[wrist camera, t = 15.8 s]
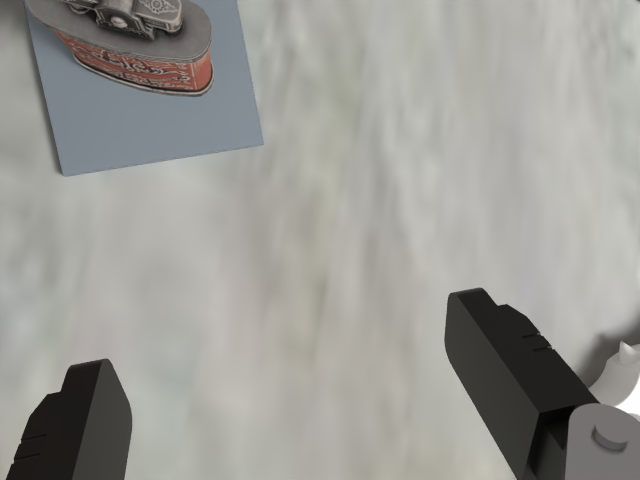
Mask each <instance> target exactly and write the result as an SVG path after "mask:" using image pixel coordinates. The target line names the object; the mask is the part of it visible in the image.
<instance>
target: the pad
mask: <svg viewBox="0 0 640 480" xmlns="http://www.w3.org/2000/svg"><path fill="white" fill-rule="evenodd" d="M189 1H191V2H193V3H195V4H197V5H198V6H200V7H201V8H202V9H204V11H205V12H206V14H207V16H208V17H209V20H210V24H211V27H212V42H211V45H210V48H209V50H210V59H211V61H212V63H213V67H214V82H213V85H212V88H211V89H210V90H209V91H208V93H206V94H205V95H203V96H201V97H195V98H194V97H178V96H166V95H161V94H155V93H149V92H144V91H140V90H136V89H133V88H130V87H127V86H124V85H121V84H118V83H114V82H112V81H110V80H107V79H105V78H103V77H101V76H99V75H96V74H94V73H92V72H90V71H87V70H86V69H85V68H83V67H82V66H81V65H80V64H79V63H78V62H77V61H76V59H75V58H74V56H73V54H72V51H71V49H70V48H69V47H68V46H67V45H66V44H65V43H64V42H63V41H62V40H61V39H60V38H59V36H58V35H57V34H56V33H55V32H54V31H53V30H52V29H50V28H48V27H46V26H44V25H43V24H42V23H40V22H39V21H38V20H37V19H36V18H35V17H34V16H33V15H32V13H31V12H30V11H29V9H28V8H27V6H26V4H25V0H23V3H24V7H25V11H26V16H27V20H28V24H29V29H30V33H31V38H32V42H33V46H34V51H35V55H36V59H37V64H38V68H39V72H40V77H41V81H42V86H43V90H44V94H45V99H46V103H47V107H48V112H49V116H50V120H51V125H52V129H53V134H54V138H55V142H56V147H57V151H58V155H59V160H60V164H61V168H62V173H63V176H73V175H79V174H85V173H91V172H98V171H104V170H110V169H116V168H123V167H129V166H135V165H142V164H148V163H154V162H160V161H167V160H173V159H179V158H185V157H192V156H198V155H204V154H210V153H217V152H223V151H229V150H236V149H242V148H248V147H254V146H261V145H264V142H263V137H262V131H261V126H260V121H259V116H258V110H257V105H256V100H255V95H254V90H253V84H252V79H251V74H250V69H249V63H248V58H247V53H246V48H245V42H244V37H243V32H242V27H241V21H240V16H239V11H238V6H237V0H189Z"/></svg>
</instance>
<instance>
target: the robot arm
mask: <svg viewBox="0 0 640 480" xmlns="http://www.w3.org/2000/svg"><path fill="white" fill-rule="evenodd" d="M445 348H446V352H447V356H448V359H449V361H450V363H451V365H452V367H453V369H454V370H455V372H456V374H457V376H458V377H459V379H460V381H461V383H462V384H463V386H464V388H465V389H466V391H467V393H468V395H469V396H470V398H471V400H472V402H473V403H474V405H475V407H476V409H477V410H478V412H479V414H480V416H481V417H482V419H483V421H484V423H485V424H486V426H487V428H488V430H489V431H490V433H491V435H492V437H493V438H494V440H495V442H496V444H497V445H498V447H499V449H500V451H501V452H502V454H503V456H504V458H505V459H506V461H507V463H508V465H509V466H510V468H511V470H512V472H513V473H514V475H515V477H516V478H517V480H640V422H639V421H638V420H637V419H636V418H634V417H633V416H632V415H630V414H628V413H627V412H625V411H623V410H621V409H618V408H616V407H613V406H610V405H605V404H601V403H600V402H599V401H598V400H597V399H596V398H595V397H594V395H593V394H592V393H591V392H590V391H589V390H588V388H587V387H586V386H585V385H584V384H583V382H582V381H581V380H580V379H579V378H578V377H577V375H576V374H575V373H574V372H573V371H572V370H571V368H570V367H569V366H568V365H567V364H566V362H565V361H564V360H563V359H562V358H561V357H560V355H559V354H558V353H557V352H556V351H555V349H552V347H551V345H550V344H549V342H548V341H547V340H546V339H545V338H544V336H541V335H540V332H539V331H538V329H537V328H536V327H535V326H534V325H533V323H532V322H531V321H530V320H529V319H528V318H527V316H525V315H523V314H522V313H520V312H519V311H517V310H515V309H514V308H512V307H511V306H509V305H507V304H505V305H500V306H497V305H496V303H495V302H494V301H493V300H492V298H491V297H490V296H489V295H488V293H487V292H486V291H485V290H484V289H483V288H474V289H469V290H464V291H459V292H454V293H450V294H449V297H448V303H447V315H446V327H445ZM131 432H132V413H131V408H130V404H129V401H128V399H127V397H126V394H125V392H124V390H123V388H122V385H121V383H120V381H119V379H118V377H117V374H116V372H115V370H114V368H113V365H112V363H111V362H110V360H109V359H101V360H96V361H91V362H86V363H80V364H75V365H71V366H70V367H69V369H68V370H67V373H66V376H65V379H64V382H63V385H62V388H61V391H60V392H57V393H52V394H47V395H46V397H45V398H44V399H43V400H42V402H41V403H40V404H39V405H38V407H37V408H36V409H35V410H34V412H33V413H32V414H31V415H30V417H29V419H28V422H27V425H26V427H25V430H24V433H23V435H22V438H21V444H19V446H18V449H17V451H16V454H15V457H14V464H12V465H11V467H10V470H9V473H8V475H7V478H6V480H124V477H125V470H126V464H127V458H128V451H129V445H130V439H131Z"/></svg>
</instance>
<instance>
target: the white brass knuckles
mask: <svg viewBox="0 0 640 480" xmlns="http://www.w3.org/2000/svg"><path fill="white" fill-rule="evenodd" d="M588 390H589V391H590V392H591V393H592V394H593V395H594V397H595V398H596V399H597V400H598V401H599V402H600V403H601V404H605V405H610V406H613V407H616V408H618V409H621V410H623V411H625V412H627V413H628V414H630V415H632V416H633V417H634V418H636V419H637V420H638V421H639V422H640V343H639V344H637V345H632V346H629V345H627V344H626V343H624V342H622V341H621V342H620V349H619V352H617V353H616V354H615V355H613V356H612V357H611V358H609V359H608V360H607V362H606V366H605V368H604V371H603V373H602V374H601V376H600V378H599V379H598V380H597V381H596V382H595V383H594V384H593V385H592V386H591V387H589V388H588Z"/></svg>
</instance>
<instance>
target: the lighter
mask: <svg viewBox="0 0 640 480" xmlns="http://www.w3.org/2000/svg"><path fill="white" fill-rule="evenodd" d="M25 4H26V6H27V8H28V9H29V11H30V12H31V13H32V15H33V16H34V17H35V18H36V19H37V20H38V21H39V22H40V23H42V24H43V25H44V26H46V27H48V28H50V29H52V30H53V31H54V32H55V33H56V34H57V35H58V36H59V38H60V39H61V40H62V41H63V42H64V43H65V44H66V45H67V46H68V47H69V48H70V49H71V51H72V54H73V56H74V58H75V59H76V61H77V62H78V63H79V64H80V65H81V66H82V67H83V68H85V69H86V70H87V71H90V72H92V73H94V74H96V75H99V76H101V77H103V78H105V79H107V80H110V81H112V82H114V83H118V84H121V85H124V86H127V87H130V88H133V89H136V90H140V91H144V92H149V93H155V94H161V95H166V96H178V97H194V98H195V97H201V96H203V95H205V94H206V93H208V91H209V90H210V89H211V88H212V85H213V82H214V67H213V63H212V61H211V59H210V50H209V48H210V45H211V42H212V27H211V24H210V20H209V17H208V16H207V14H206V12H205V11H204V9H202V8H201V7H200V6H198V5H197V4H195V3H193V2H191V1H189V0H25Z"/></svg>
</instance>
